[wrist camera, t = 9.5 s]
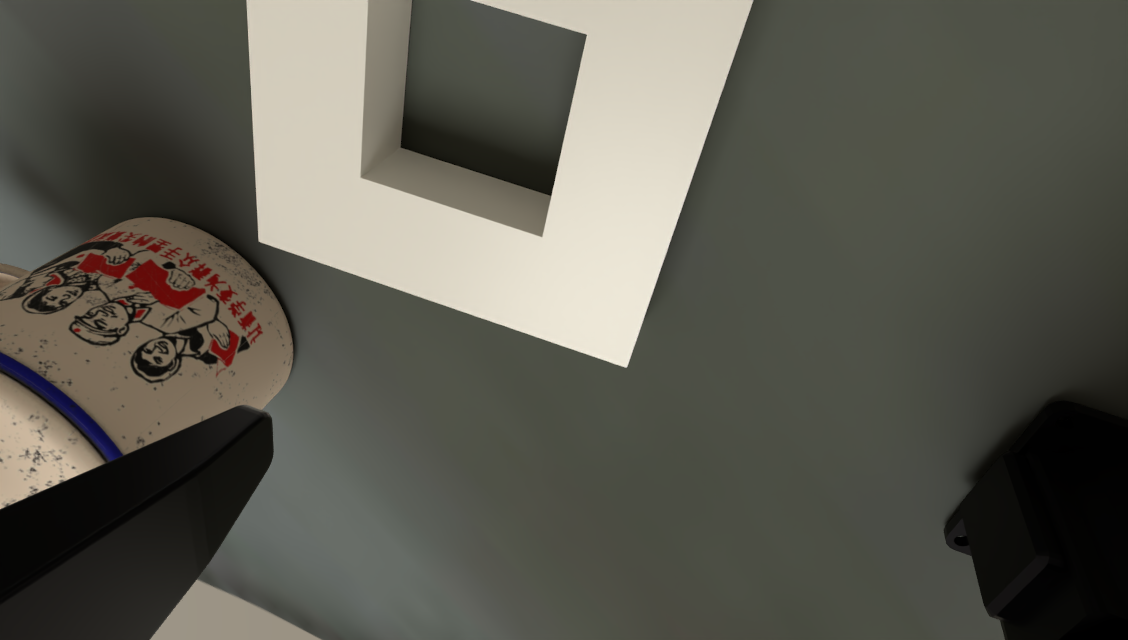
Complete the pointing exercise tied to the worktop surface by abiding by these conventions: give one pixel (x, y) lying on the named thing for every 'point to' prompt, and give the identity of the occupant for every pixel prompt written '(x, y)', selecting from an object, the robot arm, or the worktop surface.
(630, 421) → the worktop surface
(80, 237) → the worktop surface
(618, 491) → the worktop surface
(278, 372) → the teacup with lid
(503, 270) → the panel
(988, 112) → the worktop surface
